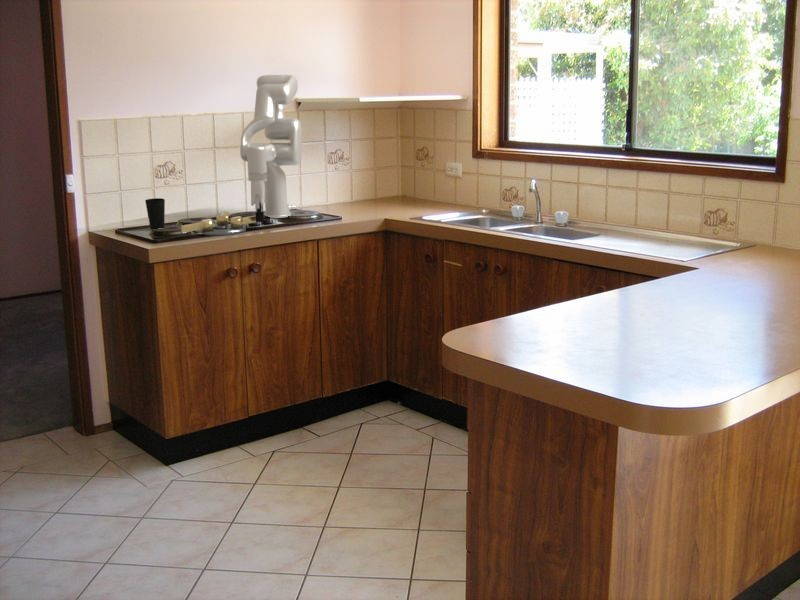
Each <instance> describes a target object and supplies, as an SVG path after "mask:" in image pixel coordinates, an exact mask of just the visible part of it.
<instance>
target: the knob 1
mask: <svg viewBox="0 0 800 600" xmlns="http://www.w3.org/2000/svg"><path fill="white" fill-rule="evenodd" d="M229 218H230V214H229V211H228V210H227V211H226V210H225V211H223V212H222V213H221V214H218V215H216V224H217V225H228V224H229V223H230V222H229V220H230V219H229Z"/></svg>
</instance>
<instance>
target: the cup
mask: <svg viewBox="0 0 800 600" xmlns="http://www.w3.org/2000/svg"><path fill="white" fill-rule="evenodd" d="M144 201H145V207H146V213H147V218H148V222H149V229H150V230H151V229H158V228H164V229H165V213H166V211H165V209H166V208H165V206H166V203H165V201H166V199H165V198H161V197H160V198H155V197H154V198H148V199H145V200H144Z"/></svg>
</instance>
